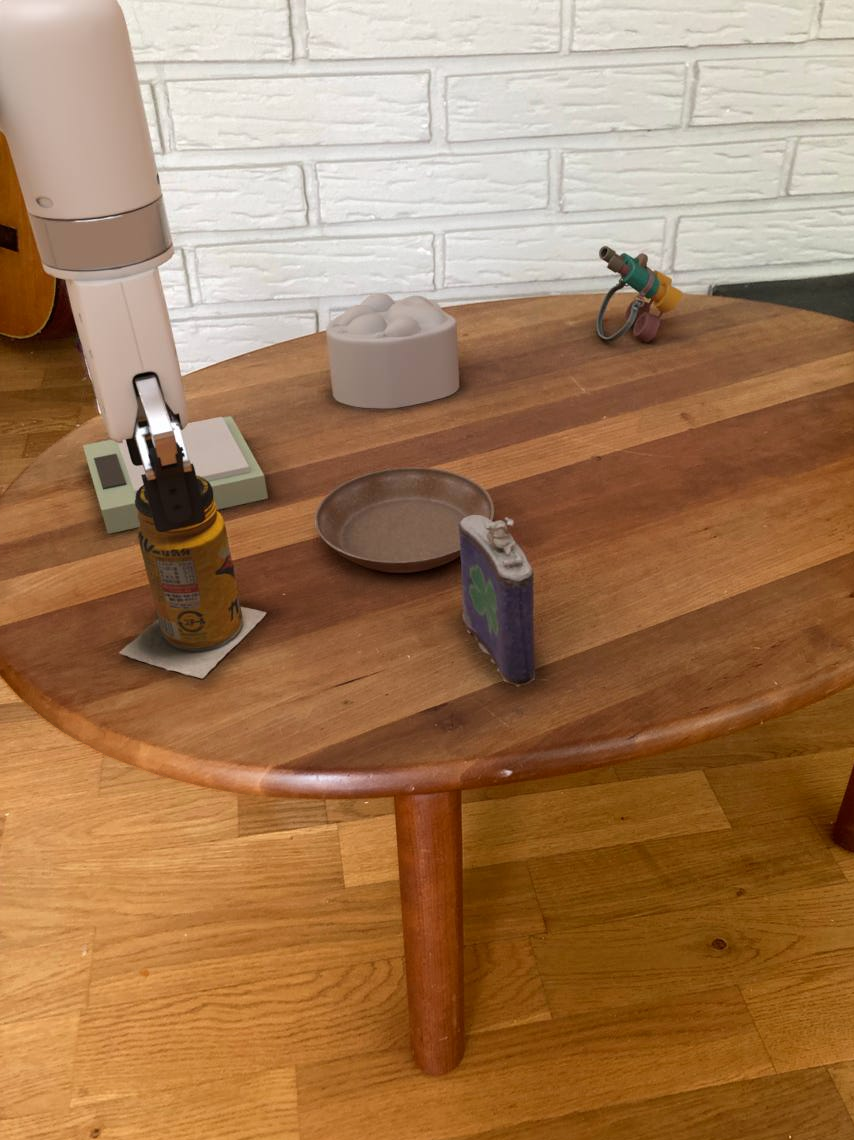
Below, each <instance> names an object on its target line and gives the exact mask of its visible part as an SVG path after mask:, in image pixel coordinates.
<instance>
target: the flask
mask: <svg viewBox="0 0 854 1140" xmlns="http://www.w3.org/2000/svg"><path fill="white" fill-rule="evenodd" d="M505 521H506V522H505ZM514 524H515V522H514V519H512V518H508V517H507V516H505V517H504V521H503V520H502V519H499V520H495V521H493V520H492V521H491V520H489V519H488V518H487V517H484V516H481V515H471V516H467V517H466V518H463V519H462V520H461V521H460V522H459V536H460V554H461V555H460V566H461V567H460V568H461V569H460V571H461V599H462V600H461V601H462V604H461V605H462V614H461V617H462V622H463V624H464V627H465V629H466V632H467V633H468V634H470V635H472V636H473V637H474V639H475V640H476V644H477V645H478V646H479V649H480V650H481V651H482V652H483V653H484V654H487V655H488V656H490V658H491V660H490V662H491V663H492V664H495V666H496V667H497V670H496V672H498V673H499V675H500V677H501V678H502V680H503V681H504V682H505V683H507V684H511V685H512V686H513V685H514V686H516V687H517V688H519V687H520V686H525V685H528V684H530V683H531V682H533V681H534V680H535V677H536V665H535V663H536V662H535V634H534V631H535V630H534V627H535V626H534V600H535V599H534V579H535V578H534V576H535V572H534V569H533V567H532V565H531V563H530V561H529V559H528V557H527V555H526V554H525V552H524V550H523V549H522V547H521V546H520V544H519V543H518V542H517V541H516V540H515V539H514V537H513V536H512V534H511V533H510V532H509V531H508V526H510V527H513V526H514Z"/></svg>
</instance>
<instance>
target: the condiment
mask: <svg viewBox="0 0 854 1140" xmlns="http://www.w3.org/2000/svg"><path fill="white" fill-rule="evenodd" d="M196 477H197V482H198V486H199V490H200V495H201V499H202V504H203V508H204V512H205V520H204V522H202V523H199V524H195V525H191V526H187V527H182V528H178V529H174V530H170V531H166V532H158V531H157V530H156V528H155V525H154V522H153V518H152V514H151V510H150V507H149V503H148V499H147V495H146V491H145V488H144V485H143V486H141V487H140V488H139V490H138V491H137V492H136V499H135V503H136V504H135V506H136V508H137V509H138V519H139V522H140V526H139V527H138V529H137V535H136V537H137V541H138V545H139V548H140V553H141V556H142V560H143V563H144V565H143V566H144V568H145V573H146V577H147V580H148V584H149V588H150V592H151V596H152V601H153V604H154V607H155V612H156V615H157V619H156V620H155V621H154V622H153V623H152V624H150V625H149V626H147V627H146V628H145V629H144V630H143V632H141V633H140V634H139V635H138V636H137V637H135V639H134V640H132V641H131V642H129V643H128V644H126V645H125V646H124V648H122V649H121V650H120V651H119V652H118V654H119V655H122V656H125V657H128V658H130V659H134V660H137V661H139V662H143V663H146V664H148V665H151V666H155V667H159V668H163V669H165V670H166V671H174V672H178V673H180V674H183V675H186V676H191V677H196V678H199V679H203V680H204V678H205V677H206V676H207V675H208V673H209V672H210V671H211V670H212V669H214V668H216V665H217V664H218V663H219V662H220V661H222V659H224V657H226V655H227V654H228V653H230V652H231V650H232V649H233V648H234V647H236V646H237V645H238V644H239V643H240V642H241V641H242V640H243V639H244V638H245V637H246V636H247V635H248V634H249V633H250V632H251V631H252V630H253V629H254V628H255V627H256V625H258V623H260V622H261V621H262V620H263V619H264V617H265V616H266V615H267V611H262V610H258V609H255V608H250V607H244V606H241V600H240V595H239V590H238V585H237V579H236V576H235V569H234V568H235V566H234V563H233V560H232V553H231V549H230V544H229V539H228V531H227V527H226V524H225V520H224V518H223V515H222V514H221V513H220V512H219V511H218V510H217V505H216V503H215V501H214V496H213V489H212V487H211V484H210V483H209V482H208V481H207V480H206V479H204V478H202V477H200V476H197V475H196Z"/></svg>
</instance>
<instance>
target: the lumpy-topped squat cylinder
mask: <svg viewBox="0 0 854 1140" xmlns="http://www.w3.org/2000/svg"><path fill="white" fill-rule="evenodd" d="M325 335H326V345H327V353H328V363H329V364H328V365H329V372H330V381H331V382H330V383H331V390H332V397H333V398H334V400H335V401H337V402H339V403H341V404H344V405H347V406H350V407H356V408H363V409H398V408H404V407H410V406H416V405H419V404H424V403H425V404H426V403H428V402H429V403H430V402H432V401H435V400H439V399H444V398H446V397H449V396H452V395H453V394H455V393H456V392H458V390H459V389H460V371H459V370H460V369H459V343H458V342H459V341H458V323H457V319H456V318H455V317H453V315H451V314H449V313H447V312H445V311H444V310H443V308H442V307H441V306H440V304H439V303H438V302H436V301H435V300H433V299H428V298H427V297H425V296H422V295H411V296H407V297H404V298H402V299H397V300H394V299H393V298H392V297H391V296H390V295H388V294H386V293H379V292H378V293H374V294H371V295H369V296H368V297H366V298H365V299H364V300H363V301H361V303H360V304H356V305H353V306H350V307H349V308H347V309H346V310H345V312H343V313H342V314H341V315H339V316H336V317H335V318H334V319H333V320H331V321H330V323H328V325H327V326H326V329H325Z"/></svg>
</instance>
